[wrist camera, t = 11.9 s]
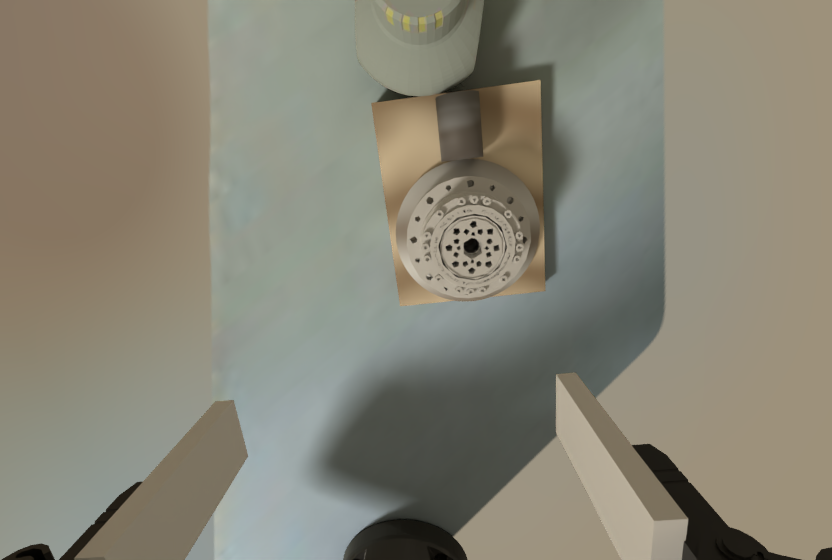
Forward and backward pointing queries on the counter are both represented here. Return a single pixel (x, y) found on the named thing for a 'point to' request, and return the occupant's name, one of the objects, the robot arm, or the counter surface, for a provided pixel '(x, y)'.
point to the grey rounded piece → (418, 42)
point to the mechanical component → (468, 237)
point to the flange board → (462, 167)
